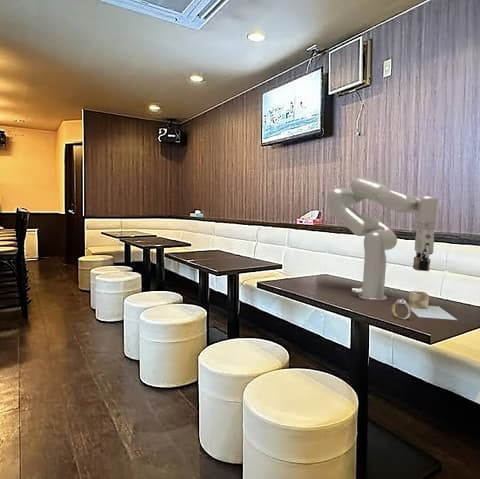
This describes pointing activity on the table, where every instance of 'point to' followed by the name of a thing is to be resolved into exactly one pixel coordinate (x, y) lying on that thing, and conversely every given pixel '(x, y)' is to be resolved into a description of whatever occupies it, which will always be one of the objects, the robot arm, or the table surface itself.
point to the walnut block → (416, 263)
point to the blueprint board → (433, 313)
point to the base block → (418, 300)
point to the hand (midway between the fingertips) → (420, 268)
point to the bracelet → (401, 303)
